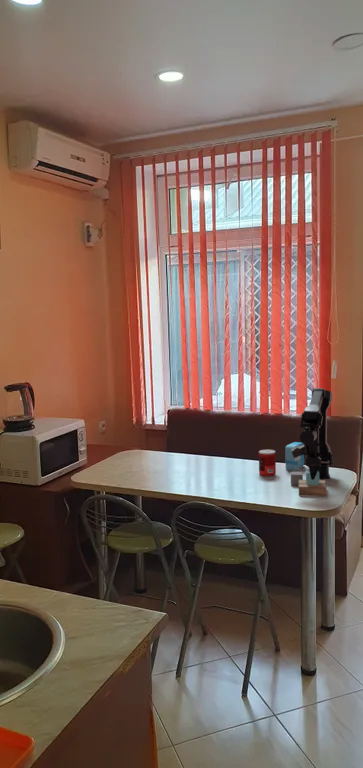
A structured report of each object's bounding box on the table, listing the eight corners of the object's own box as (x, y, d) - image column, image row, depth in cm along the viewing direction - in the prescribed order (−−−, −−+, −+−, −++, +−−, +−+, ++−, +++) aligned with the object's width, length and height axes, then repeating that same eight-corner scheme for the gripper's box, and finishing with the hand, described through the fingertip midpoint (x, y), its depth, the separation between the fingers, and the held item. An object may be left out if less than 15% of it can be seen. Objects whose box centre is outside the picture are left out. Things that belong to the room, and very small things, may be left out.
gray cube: (290, 482, 258) (290, 471, 258) (302, 482, 258) (302, 471, 257) (291, 485, 253) (291, 474, 253) (302, 486, 253) (302, 474, 252)
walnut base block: (298, 488, 250) (298, 479, 250) (324, 489, 248) (324, 480, 248) (298, 496, 239) (298, 486, 239) (326, 497, 237) (326, 487, 237)
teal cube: (305, 481, 246) (305, 470, 246) (318, 481, 246) (317, 470, 245) (306, 484, 241) (306, 473, 241) (319, 485, 241) (319, 473, 240)
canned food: (278, 473, 275) (278, 450, 273) (271, 477, 268) (271, 453, 267) (263, 471, 279) (263, 448, 278) (256, 475, 272) (256, 452, 271)
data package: (294, 471, 277) (293, 446, 275) (285, 470, 279) (285, 445, 278) (304, 466, 287) (304, 442, 285) (295, 465, 289) (295, 441, 288)
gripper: (291, 435, 252) (291, 470, 253) (292, 444, 234) (293, 482, 235) (317, 435, 250) (318, 470, 252) (321, 444, 232) (321, 482, 233)
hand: (312, 476), depth 243 cm, fingers open, 9 cm apart
